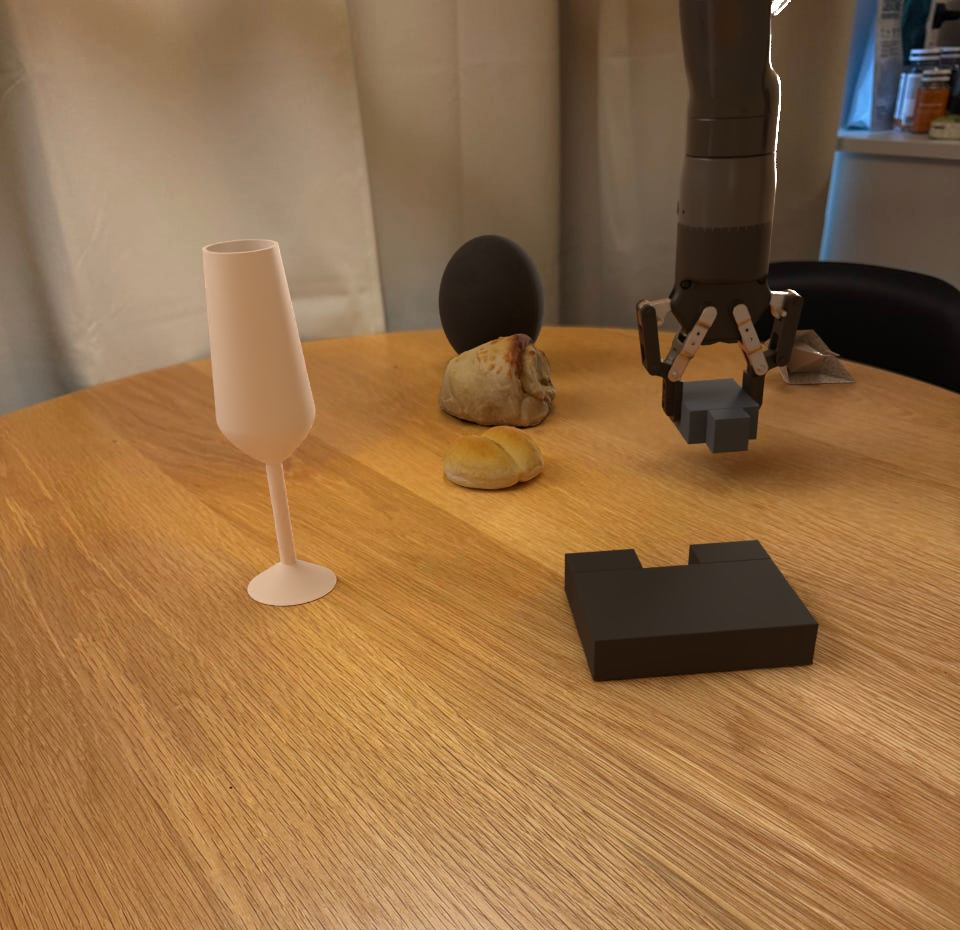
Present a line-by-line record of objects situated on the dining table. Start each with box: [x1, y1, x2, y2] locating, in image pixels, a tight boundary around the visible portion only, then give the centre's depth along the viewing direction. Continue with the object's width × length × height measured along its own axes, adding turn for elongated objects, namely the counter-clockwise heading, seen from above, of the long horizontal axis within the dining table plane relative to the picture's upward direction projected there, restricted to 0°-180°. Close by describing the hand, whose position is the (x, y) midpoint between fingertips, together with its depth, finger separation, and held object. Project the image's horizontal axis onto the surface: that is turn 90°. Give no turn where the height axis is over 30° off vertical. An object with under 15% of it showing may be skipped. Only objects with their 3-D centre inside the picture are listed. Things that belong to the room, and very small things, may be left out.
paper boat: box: [763, 329, 857, 385], centre depth 110 cm, size 12×6×9 cm
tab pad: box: [672, 377, 760, 455], centre depth 88 cm, size 6×10×3 cm, turn 4°
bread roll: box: [442, 425, 545, 490], centre depth 91 cm, size 8×9×4 cm
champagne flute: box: [201, 238, 338, 607], centre depth 69 cm, size 7×7×24 cm
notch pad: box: [564, 539, 820, 682], centre depth 67 cm, size 14×12×3 cm
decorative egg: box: [438, 234, 546, 356], centre depth 117 cm, size 12×12×15 cm
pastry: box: [438, 334, 558, 428], centre depth 106 cm, size 14×12×8 cm
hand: (711, 416), depth 90 cm, fingers closed on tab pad, 6 cm apart
